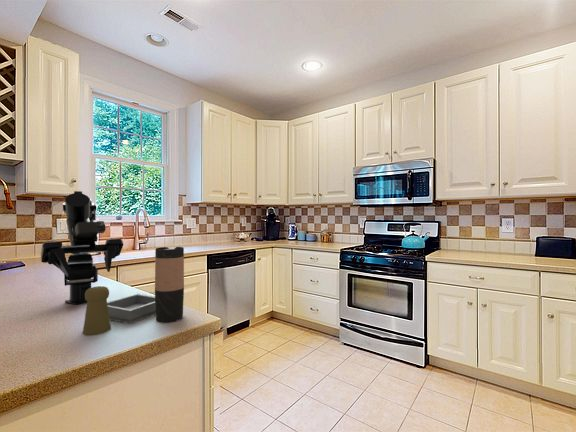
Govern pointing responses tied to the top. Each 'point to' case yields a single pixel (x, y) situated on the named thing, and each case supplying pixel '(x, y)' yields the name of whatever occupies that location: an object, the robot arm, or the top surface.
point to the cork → (96, 311)
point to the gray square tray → (131, 308)
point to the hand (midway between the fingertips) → (89, 273)
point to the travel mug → (169, 284)
